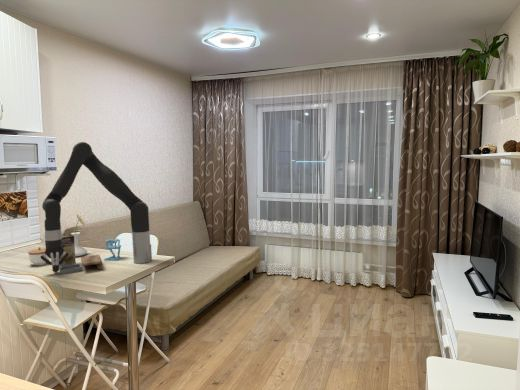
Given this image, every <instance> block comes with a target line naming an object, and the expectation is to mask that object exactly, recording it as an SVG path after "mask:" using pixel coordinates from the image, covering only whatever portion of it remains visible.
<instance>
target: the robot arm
mask: <svg viewBox="0 0 520 390" xmlns="http://www.w3.org/2000/svg"><path fill="white" fill-rule="evenodd" d="M71 151H72V152H71V155H70V157H69V158H68V162H67V163H66V165H65V167H64V168H63V171H62V172H61V174H60V175H59V177H58V178H57V180H56V182H55V183H54V185H53V187H52V189H51V191H50V192H49V193H48V195H47V196H46V197H45V199H44V200H43V202H42V206H41V207H42V210H43V211H44V212H45V213H44V215H45V219H44V242H45V246H44V247H45V248H46V250H45V253H44V254H43V255H41V259H42V260H44V261H45V262H46V263H47V265H48V266H52V268H51V269H52V272H53V273H55V274H56V273H59V272H60V268H59V264H61V263H63V261H64V260H65V259H66V257H67V256H68V254H69V253H68V252H65V251H64V249H63V244H62V236H63V232H62V225H61V224H62V223H61V213H62V212H61V211H62V210H61V209H62V208H61V202H62V200H63V199H64V198H65V197H66V196H67V195H68V193H69V191H70V190H71V188H72V186H73V184H74V182H75V179H76V178H77V176H78V173H79V171H80V169H81V168H82V167H83V166H84V167H85V168H87V169H88V171H90V172H91V174H92V175H93V176H94V177H95V178H96V180H97V181H98V182H99V183H100V184H101V185H102V186H103V188H105V190H107V191H108V192H109V193H110V194H112V195H113V196H114V197H115V198H117V199H118V200H119V201H121V202H122V203H123V204H124V205H125V206H126V208H128V209H129V211H130V223H131V224H130V225H131V226H130V227H131V236H132V237H131V238H132V254H133V258H132V259H133V263H134V264H137V265H138V264H147V263H149V262H153V257H152V256H153V255H152V254H153V253H152V244H151V237H150V236H151V234H150V233H151V232H150V231H151V230H150V220H149V219H150V217H149V206H148V204H146V202H144V201H143V200H141V199H140V198H139V197H138V196H137V195H135V193H134V192H133V191H132V190H131V189H130V187H129V186H128V185H127V184H126V183H125V181H124V180H123V179H122V178H121V177H120V176H119V175H118V174H117V173H116V172H115V171H114V170H113V169H111V168H110V167H108V166H107V165H106V164H104V163H103V162H102V161H101V160H100V159H99V158H98V157H97V155H96V154H95V153H94V152H93V148H92V146H91V145H90V144H89V143H87V142H85V141H79V142H77V143H75V144H74V145H73V147H72V150H71ZM63 253H64V254H63ZM62 254H63V257H62V259H61V260H60V261H59V257H60V256H61V255H62ZM46 255H47V256H48V257H49V258H50V260H51V261H50V260H48V259H47V258H46ZM54 258H56V265H55V261H54Z"/></svg>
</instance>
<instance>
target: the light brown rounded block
mask: <svg viewBox="0 0 520 390" xmlns="http://www.w3.org/2000/svg"><path fill="white" fill-rule="evenodd" d="M80 259H81V266H84V267H85V266H90V265H96V267H97V270H99V271H103V261H102V258H101V255H100V254H95V255H94V254H93V255H87V256H86V255H85V256H80Z"/></svg>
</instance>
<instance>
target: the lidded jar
mask: <svg viewBox="0 0 520 390" xmlns="http://www.w3.org/2000/svg"><path fill="white" fill-rule="evenodd" d="M45 250H46V247H43V248H42V247H38V248H36V249H35V248H34V249H31V250H28V251H27V253H28V259H29V262H30V263H31V264H32V265H34V266H36V265H38V266H43V265H46V264H47V263H46V262H45V261H44V260H42V259H41V255H43V254H44V253H45ZM46 258H47V259H48V260H49V261H50V260H51V259H50V258H49V257H48V256H47V255H46ZM47 265H48V264H47Z"/></svg>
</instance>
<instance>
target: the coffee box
mask: <svg viewBox="0 0 520 390" xmlns="http://www.w3.org/2000/svg"><path fill="white" fill-rule="evenodd" d="M62 244H63V249H64V251H65V252H68V253H69V254H68V256H67V257H66V259H65V260H64V261H63V263H61V264H59V269H60V266H65V265H73V264H77V263H76V262H77V261H76V256H75V243H74V236H73V235H72V234H66V235H62ZM63 254H64V253H63ZM63 254H62V255H61V256H60V257H59V261H60V260H61V259H62V257H63ZM54 261H55V265H56V258H54Z"/></svg>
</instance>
